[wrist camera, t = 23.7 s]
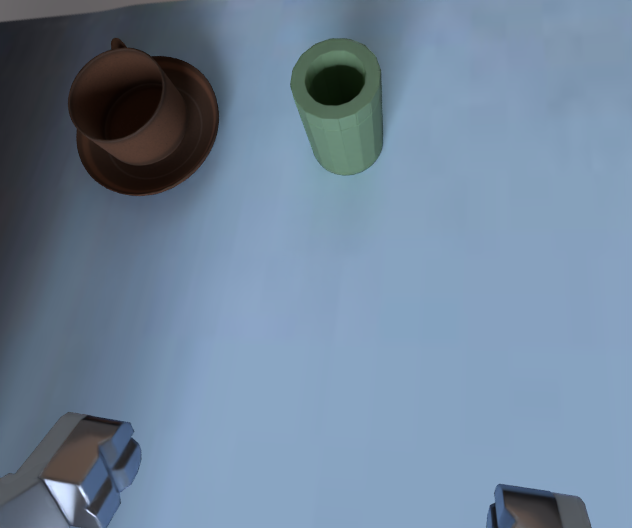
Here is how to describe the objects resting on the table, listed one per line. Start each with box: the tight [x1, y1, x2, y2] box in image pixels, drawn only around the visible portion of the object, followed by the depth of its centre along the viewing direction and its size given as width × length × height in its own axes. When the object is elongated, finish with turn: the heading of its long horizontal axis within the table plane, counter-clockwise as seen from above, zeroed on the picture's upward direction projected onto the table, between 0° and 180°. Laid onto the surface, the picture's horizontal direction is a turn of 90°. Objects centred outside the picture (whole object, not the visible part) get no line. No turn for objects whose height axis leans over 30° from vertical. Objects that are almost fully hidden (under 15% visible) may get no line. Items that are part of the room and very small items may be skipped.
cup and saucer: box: [68, 38, 219, 196], centre depth 36 cm, size 12×12×6 cm
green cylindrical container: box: [290, 38, 383, 175], centre depth 32 cm, size 5×5×8 cm
